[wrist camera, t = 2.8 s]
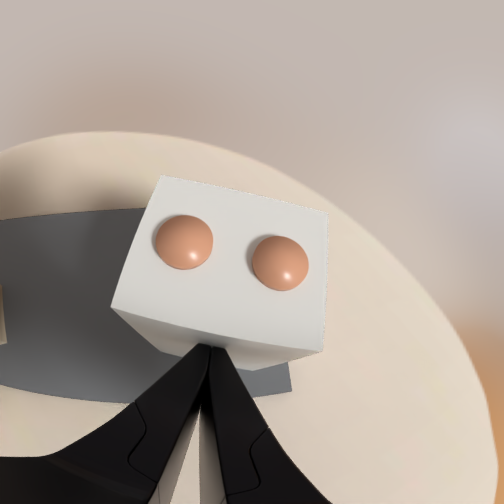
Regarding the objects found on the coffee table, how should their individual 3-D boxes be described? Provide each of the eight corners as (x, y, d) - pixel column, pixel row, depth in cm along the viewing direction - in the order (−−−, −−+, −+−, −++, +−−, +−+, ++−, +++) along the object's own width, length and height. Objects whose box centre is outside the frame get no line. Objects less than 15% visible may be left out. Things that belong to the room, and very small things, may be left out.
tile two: (252, 370, 14) (326, 350, 6) (160, 351, 14) (108, 304, 6) (263, 302, 16) (330, 209, 8) (177, 283, 15) (160, 170, 7)
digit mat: (-54, 366, 9) (-58, 364, 8) (-33, 228, 14) (-36, 225, 13) (288, 391, 14) (291, 391, 14) (260, 210, 19) (262, 206, 19)
